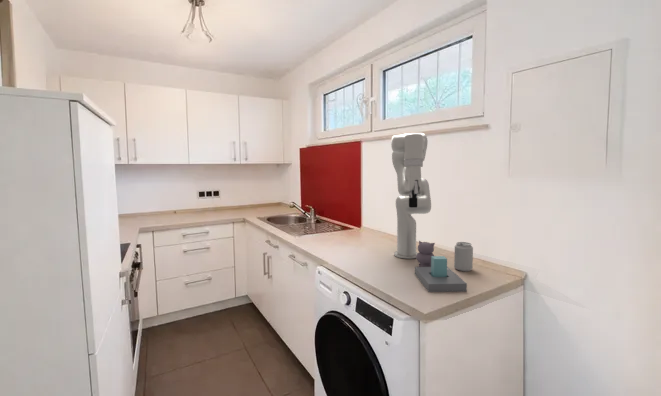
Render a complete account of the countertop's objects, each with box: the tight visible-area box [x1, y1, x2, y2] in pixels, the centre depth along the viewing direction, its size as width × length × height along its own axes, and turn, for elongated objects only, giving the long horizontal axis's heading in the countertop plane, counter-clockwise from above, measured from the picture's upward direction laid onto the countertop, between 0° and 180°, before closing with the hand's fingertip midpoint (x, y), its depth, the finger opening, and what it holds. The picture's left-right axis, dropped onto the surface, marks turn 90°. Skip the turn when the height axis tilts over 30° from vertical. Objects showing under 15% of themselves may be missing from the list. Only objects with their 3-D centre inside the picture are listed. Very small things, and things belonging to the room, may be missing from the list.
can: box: [453, 241, 474, 272], centre depth 141 cm, size 8×8×12 cm
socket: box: [414, 266, 468, 293], centre depth 126 cm, size 20×14×4 cm
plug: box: [431, 255, 448, 277], centre depth 126 cm, size 4×5×10 cm
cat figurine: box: [415, 240, 436, 267], centre depth 144 cm, size 8×8×12 cm
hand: (413, 207), depth 134 cm, fingers closed
